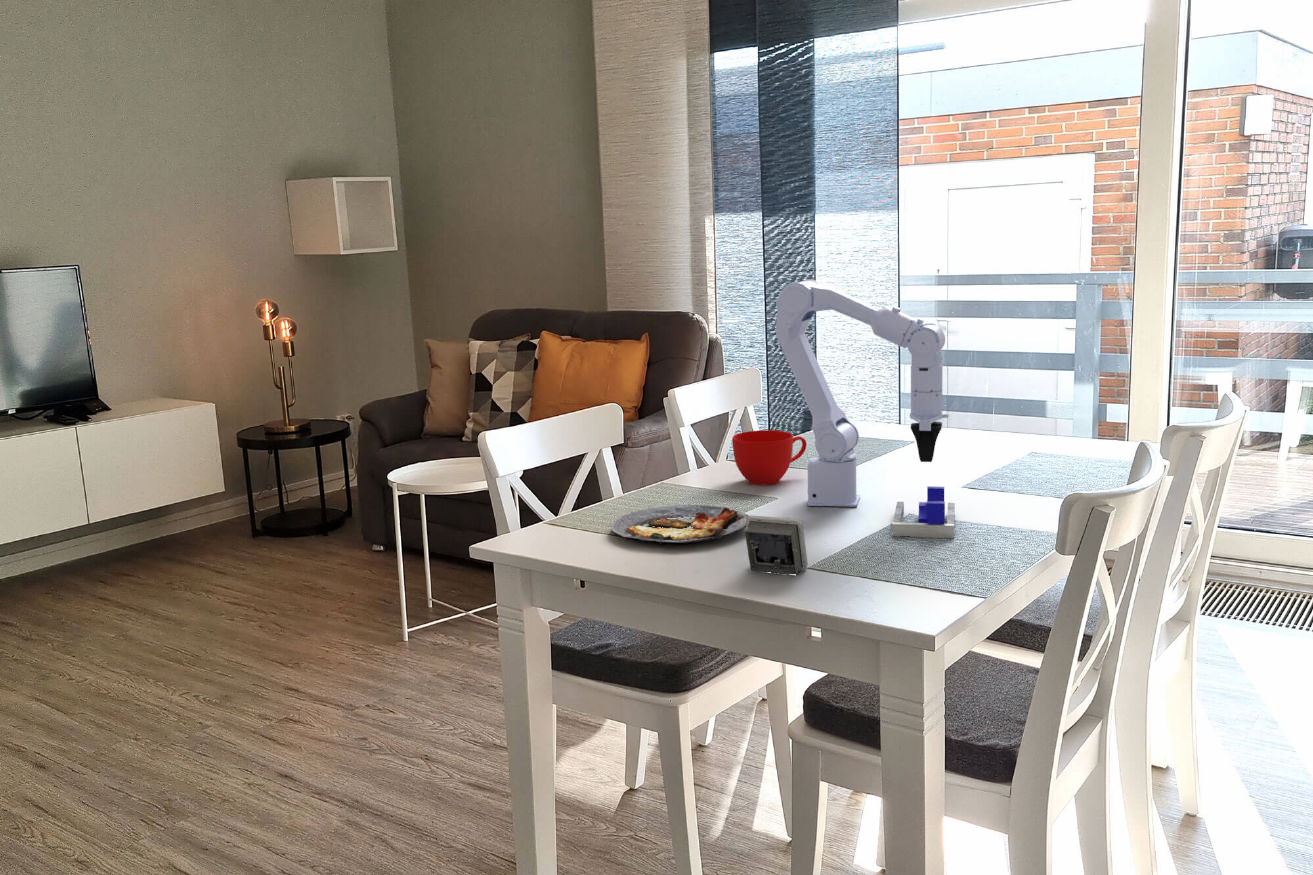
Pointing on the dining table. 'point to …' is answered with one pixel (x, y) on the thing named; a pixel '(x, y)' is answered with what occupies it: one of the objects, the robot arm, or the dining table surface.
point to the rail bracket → (923, 525)
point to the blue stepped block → (933, 506)
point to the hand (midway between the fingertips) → (926, 461)
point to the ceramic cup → (765, 455)
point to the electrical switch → (775, 544)
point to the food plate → (680, 523)
